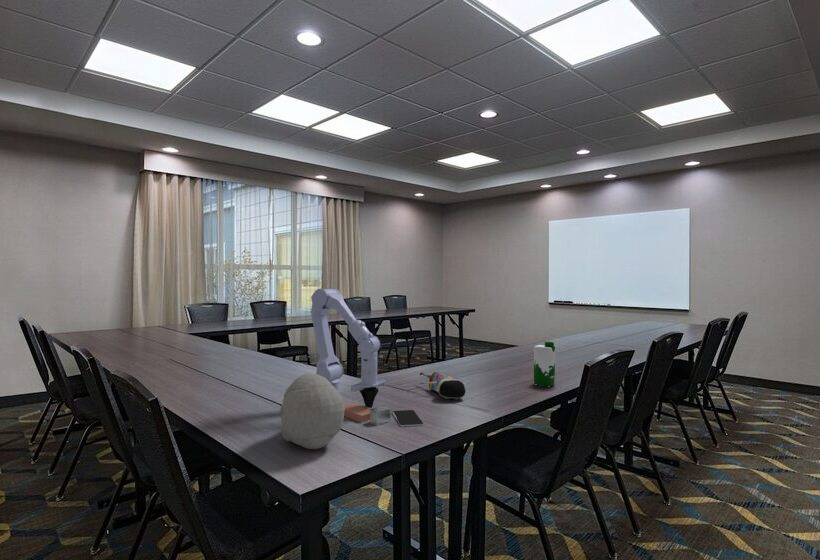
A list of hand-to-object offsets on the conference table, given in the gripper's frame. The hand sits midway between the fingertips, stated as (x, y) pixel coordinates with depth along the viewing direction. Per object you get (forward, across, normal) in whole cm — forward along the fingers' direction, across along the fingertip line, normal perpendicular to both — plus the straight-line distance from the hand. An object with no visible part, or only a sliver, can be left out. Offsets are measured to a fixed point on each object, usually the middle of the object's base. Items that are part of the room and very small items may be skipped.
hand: (368, 408), depth 156 cm
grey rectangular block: (+2, -4, -10) cm, 11 cm away
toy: (+2, +42, +1) cm, 42 cm away
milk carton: (+2, +87, -20) cm, 90 cm away
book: (+2, -5, 0) cm, 5 cm away
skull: (+2, -30, -10) cm, 32 cm away
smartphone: (+2, +6, -14) cm, 16 cm away
